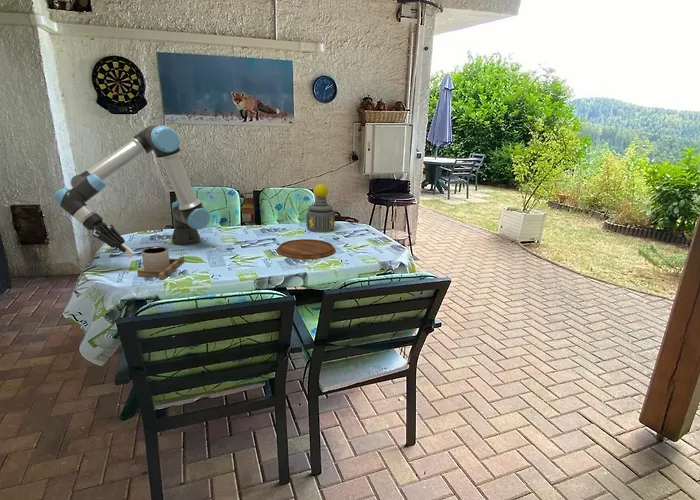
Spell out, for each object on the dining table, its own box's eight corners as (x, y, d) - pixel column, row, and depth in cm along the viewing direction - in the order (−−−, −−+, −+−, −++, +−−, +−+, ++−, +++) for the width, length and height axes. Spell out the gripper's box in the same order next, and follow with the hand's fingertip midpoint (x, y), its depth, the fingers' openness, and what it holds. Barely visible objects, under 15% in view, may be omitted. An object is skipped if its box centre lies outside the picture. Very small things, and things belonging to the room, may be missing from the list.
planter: (152, 276, 174) (149, 255, 171) (139, 270, 180) (136, 250, 177) (175, 269, 183) (173, 249, 180) (161, 264, 189) (159, 245, 186)
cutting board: (303, 239, 240) (303, 235, 239) (346, 250, 223) (347, 245, 222) (264, 251, 215) (264, 247, 214) (309, 264, 198) (309, 259, 197)
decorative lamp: (323, 234, 252) (324, 187, 244) (300, 229, 262) (300, 183, 253) (340, 229, 268) (341, 184, 259) (317, 224, 277) (318, 181, 268)
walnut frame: (159, 261, 193) (158, 256, 192) (184, 261, 193) (183, 256, 193) (134, 278, 170) (133, 273, 169) (162, 279, 170) (162, 274, 170)
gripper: (92, 220, 181) (134, 256, 186) (74, 227, 168) (119, 265, 174) (102, 209, 179) (144, 246, 185) (84, 215, 167) (130, 254, 173)
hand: (132, 255), depth 179 cm, fingers closed
